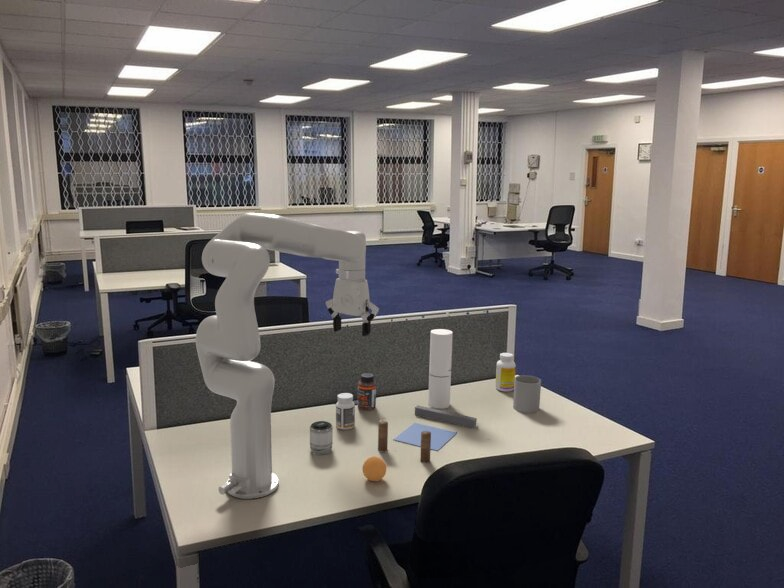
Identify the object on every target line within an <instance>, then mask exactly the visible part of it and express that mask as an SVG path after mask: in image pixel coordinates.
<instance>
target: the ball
mask: <svg viewBox="0 0 784 588" xmlns="http://www.w3.org/2000/svg"><path fill="white" fill-rule="evenodd" d="M362 473H363V475H364V477H365V478H366V479H367V480H368V481H370V482H378V481H381V480H382V479H383V478H384V477H386V476H385V475H386V473H387V464H386V462H385V461H384V459H382V458H381V457H380V456H370V457H368V458H367V459H366V460H365V461H364V462H363V465H362Z"/></svg>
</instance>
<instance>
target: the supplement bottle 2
mask: <svg viewBox="0 0 784 588" xmlns="http://www.w3.org/2000/svg"><path fill="white" fill-rule="evenodd" d="M495 367H496V370H495V389H496V390H498V391H500V392H504V393H505V392H509V393H510V392H514V384H515V378H516V367H517V366H516V363H515V361H514V354H513V353H510V352H502V353H501V352H500V354H499V360H497V362H496V366H495Z"/></svg>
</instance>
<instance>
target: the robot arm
mask: <svg viewBox="0 0 784 588" xmlns="http://www.w3.org/2000/svg"><path fill="white" fill-rule="evenodd" d="M366 238H367V237H366V235H365V233H364V232H363V231H356V230H347V231H345V230H341V229H336V228H335V229H334V228H331V227H328V226H327V227H326V226H323V225H319V224H314V223H311V222H310V223H309V222H306V221H302V220H297V219H294V218H290V217H286V216H282V215H278V214H273V213H272V214H270V213H259V212H257V213H256V212H247V213H243V214H242V215H240V216H239V217H236V218H235V219H234V220H233V221H231V222H230V223H229V224H228V225H227V226H225V227H224V228H223V229H222V230H221V231H219V232H218V233H217V234H216V235H215V236H214V237H212V239H210V240H209V241H208V242H207V243H206V245H205V247H204V248H203V249H202V250H203V251H202V255H201V263H202V266H203V268H204V269H205V270H206V271H207V272H208V274H211V275H213V276H216V277H222V278H225V280H224V281H223V282H222V284H221V286H220V287H219V289H218V290H217V292H216V293H217V294H216V295H215V300H214V307H215V315H210V316H207V317H205V318H204V319H203V320H202V321H201V322H200V323H199V325H198V327H197V329H196V334H195V348H196V352H197V357H198V360H199V364H200V368H201V373H202V377H203V380H204V383H205V386H206V387H207V388H208V389H209V390H210V391H211V392H212V393H214V394H215V395H216V394H217V395H219V396H223V397H226V398H231V399H232V400H235V401H236V405H235V407H234V409H233V410H232V413H231V414H230V420H229V421H230V422H229V426H230V427H229V428H230V448H231V449H230V452H231V453H230V455H231V473H229V475H228V480H227V481H226V483H224V484H222V485H221V486H219V487H218V493H219V494H220V495H225V494H226V493H227V494H229V495H230V496H232V497H234V498H237V499H244V500H252V499H253V498H254V499H259V497H260V498H263V497H266V496H268V495H270V494H272V493H274V492H275V491H276V490H277V489H278V487H279V485H280V483H279V477H278V476H277V474H275V473H273V459H272V458H273V455H272V453H273V450H272V400H273V395H274V390H275V376H274V374H273V371H272V370H271V369H270V368H269V367H268V366H266V365H264V364H262V363H259V362H258V361H257V362H256V361H252V360H254V359H255V358H257V356H258V355H259V354H260V353H261V352H260V351H261V347H262V345H261V336H260V330H259V326H258V321H257V320H258V319H257V315H256V310H255V294H256V291H257V290H258V286H259V285H260V283H261V282H262V280H263V278H264V277H265V276H266V275H267V274H266V273H267V272H268V270H269V267H270V261H271V259H270V254H269V251H274V252H279V253H283V254H284V253H285V254H289V255H290V254H291V255H295V256H299V257H308V258H319V259H320V258H321V259H323V260H328V261H338V268H336V269H335V274H336V275H338V278H336V279H335V283H334V289H333V296H332V297H333V298H331V299H328V300H327V301H325V306H326V307H327V311H328V313H330V315H331V318H332V327H333V332H338V331H340V330H342V316H340V315H345V316H346V315H347V316H353V317H361V319H362V320H363V322H361V323H362V325H361V326H362V328H361V329H362V330H361V331H362V333H361V335H362V337H366V336H368V335H370V333H371V325H372V324H371V323H372V321H373V320H374V319H375V318H376V317H377V314H378V313H379V310H380V308H379V307H378V306H377V305H375V304H374V303H373V302H371V301H370V291H369V290H370V289H369V283H368V280H367V279H366V251H367V245H366V244H367V242H366V241H367V239H366ZM268 250H269V251H268ZM370 310H371V313H370Z"/></svg>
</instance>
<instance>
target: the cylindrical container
mask: <svg viewBox="0 0 784 588" xmlns="http://www.w3.org/2000/svg"><path fill="white" fill-rule="evenodd" d="M453 333H454V332H453V331H452V330H450V329H445V328H437V329H435V328H434V329H431V330H430V336H429V337H430V340H429V342H430V343H429V367H428V368H429V369H428V370H429V371H428V398H427V399H428V400H427V402H428V403H427V405H428V407H429V408H432V409H437V410H441V409H442V410H443V409H447V408H449V407H450V406H451V384H452V383H451V382H452V381H451V380H452V357H453Z"/></svg>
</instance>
